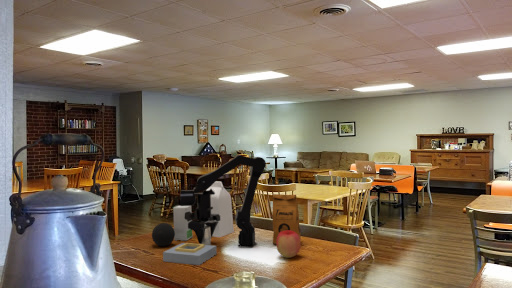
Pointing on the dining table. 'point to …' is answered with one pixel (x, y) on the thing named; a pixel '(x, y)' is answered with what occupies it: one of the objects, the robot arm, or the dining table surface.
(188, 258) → the grey flat square piece
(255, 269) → the dining table surface
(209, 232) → the spout can
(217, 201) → the milk
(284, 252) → the apple
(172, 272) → the dining table surface
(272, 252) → the dining table surface
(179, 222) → the skincare box
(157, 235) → the speaker
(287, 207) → the coffee package
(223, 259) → the dining table surface
